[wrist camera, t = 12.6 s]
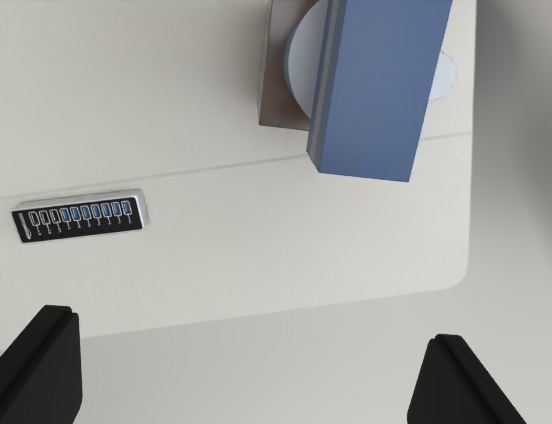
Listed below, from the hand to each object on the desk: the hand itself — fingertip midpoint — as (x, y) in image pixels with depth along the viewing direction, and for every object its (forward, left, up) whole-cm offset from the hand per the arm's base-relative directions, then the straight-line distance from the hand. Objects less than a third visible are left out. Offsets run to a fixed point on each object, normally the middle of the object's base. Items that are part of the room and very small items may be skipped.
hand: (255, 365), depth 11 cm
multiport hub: (+12, -19, -38) cm, 45 cm away
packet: (-8, +5, -15) cm, 18 cm away
